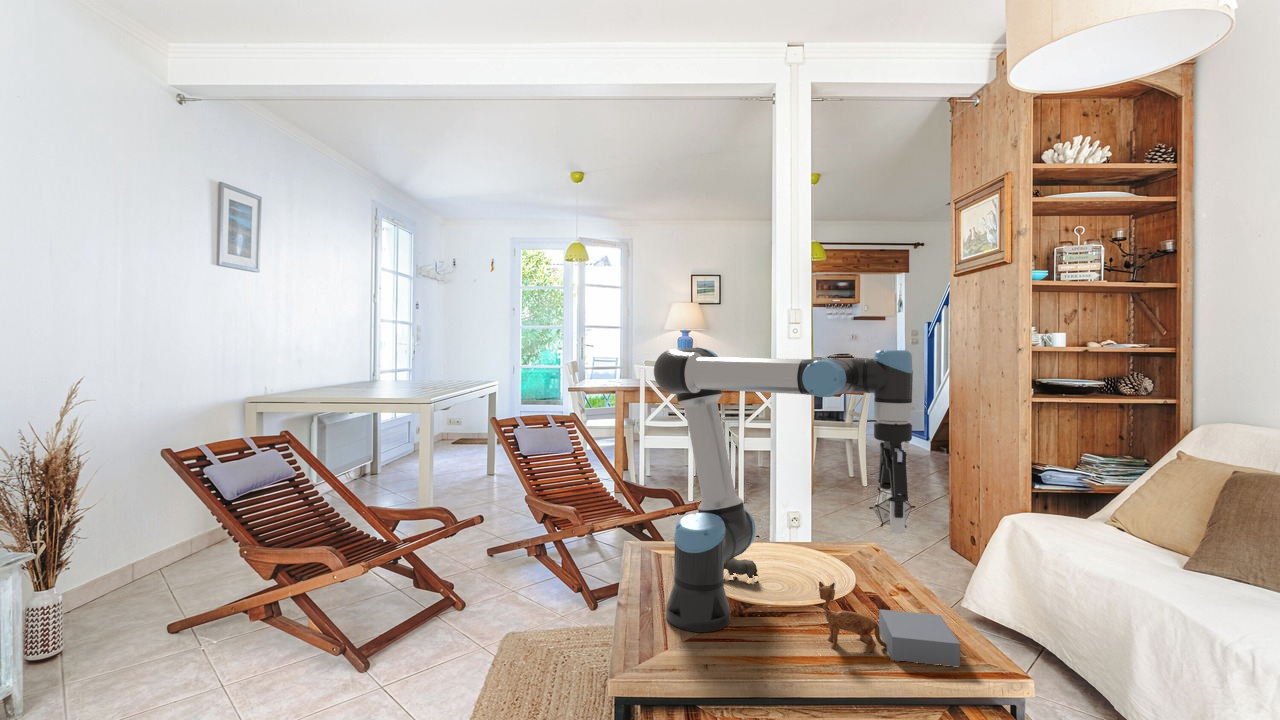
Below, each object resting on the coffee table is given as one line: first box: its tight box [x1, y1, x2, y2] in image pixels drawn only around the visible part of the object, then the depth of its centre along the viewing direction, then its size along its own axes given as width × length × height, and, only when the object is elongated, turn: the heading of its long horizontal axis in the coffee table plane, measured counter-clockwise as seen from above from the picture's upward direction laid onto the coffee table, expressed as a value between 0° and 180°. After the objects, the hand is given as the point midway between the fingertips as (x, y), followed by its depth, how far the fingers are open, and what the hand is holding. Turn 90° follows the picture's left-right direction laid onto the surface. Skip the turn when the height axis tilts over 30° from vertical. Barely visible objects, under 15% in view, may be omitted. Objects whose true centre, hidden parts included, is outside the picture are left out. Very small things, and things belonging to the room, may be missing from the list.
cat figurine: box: [818, 580, 886, 654], centre depth 129 cm, size 18×7×14 cm, turn 84°
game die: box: [868, 487, 917, 529], centre depth 129 cm, size 9×8×10 cm
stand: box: [878, 608, 961, 667], centre depth 129 cm, size 13×13×5 cm
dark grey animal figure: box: [724, 557, 759, 579], centre depth 165 cm, size 4×14×6 cm, turn 67°
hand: (891, 524), depth 129 cm, fingers closed on game die, 10 cm apart
